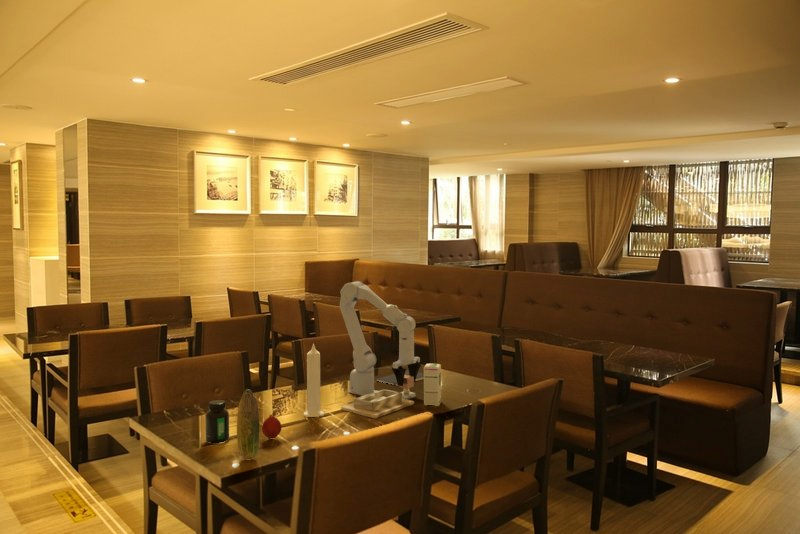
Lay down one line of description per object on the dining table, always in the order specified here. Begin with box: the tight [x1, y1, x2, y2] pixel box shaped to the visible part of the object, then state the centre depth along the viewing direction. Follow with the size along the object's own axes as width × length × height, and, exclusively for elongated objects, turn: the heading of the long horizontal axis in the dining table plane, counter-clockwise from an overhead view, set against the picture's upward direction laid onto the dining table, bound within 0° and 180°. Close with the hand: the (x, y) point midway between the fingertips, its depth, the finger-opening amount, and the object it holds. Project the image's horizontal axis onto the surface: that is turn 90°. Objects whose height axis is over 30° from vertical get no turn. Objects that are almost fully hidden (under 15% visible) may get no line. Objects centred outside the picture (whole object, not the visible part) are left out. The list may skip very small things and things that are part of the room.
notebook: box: [375, 369, 424, 387], centre depth 258 cm, size 13×2×21 cm
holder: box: [340, 388, 415, 419], centre depth 217 cm, size 22×16×4 cm
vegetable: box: [236, 388, 261, 460], centre depth 167 cm, size 6×6×20 cm
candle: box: [303, 343, 325, 418], centre depth 207 cm, size 7×7×25 cm
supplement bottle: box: [204, 399, 230, 443], centre depth 182 cm, size 7×7×12 cm
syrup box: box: [423, 363, 442, 407], centre depth 221 cm, size 6×6×14 cm
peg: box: [398, 375, 416, 400], centre depth 230 cm, size 5×5×8 cm
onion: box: [261, 413, 282, 439], centre depth 183 cm, size 6×6×8 cm
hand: (406, 383), depth 230 cm, fingers open, 7 cm apart
